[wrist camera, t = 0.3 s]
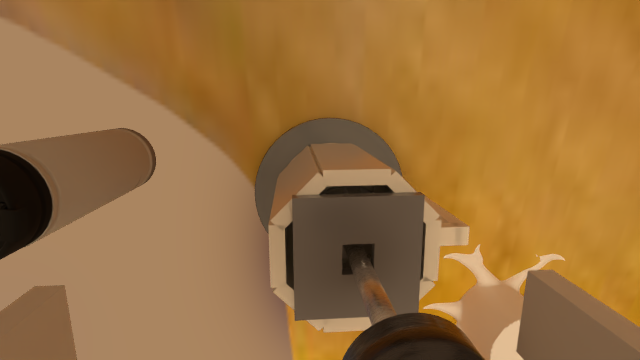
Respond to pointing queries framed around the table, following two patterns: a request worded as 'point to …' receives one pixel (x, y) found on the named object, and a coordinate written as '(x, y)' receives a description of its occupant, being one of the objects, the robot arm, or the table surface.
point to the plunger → (397, 316)
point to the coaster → (307, 135)
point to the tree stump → (490, 308)
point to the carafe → (352, 236)
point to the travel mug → (66, 180)
